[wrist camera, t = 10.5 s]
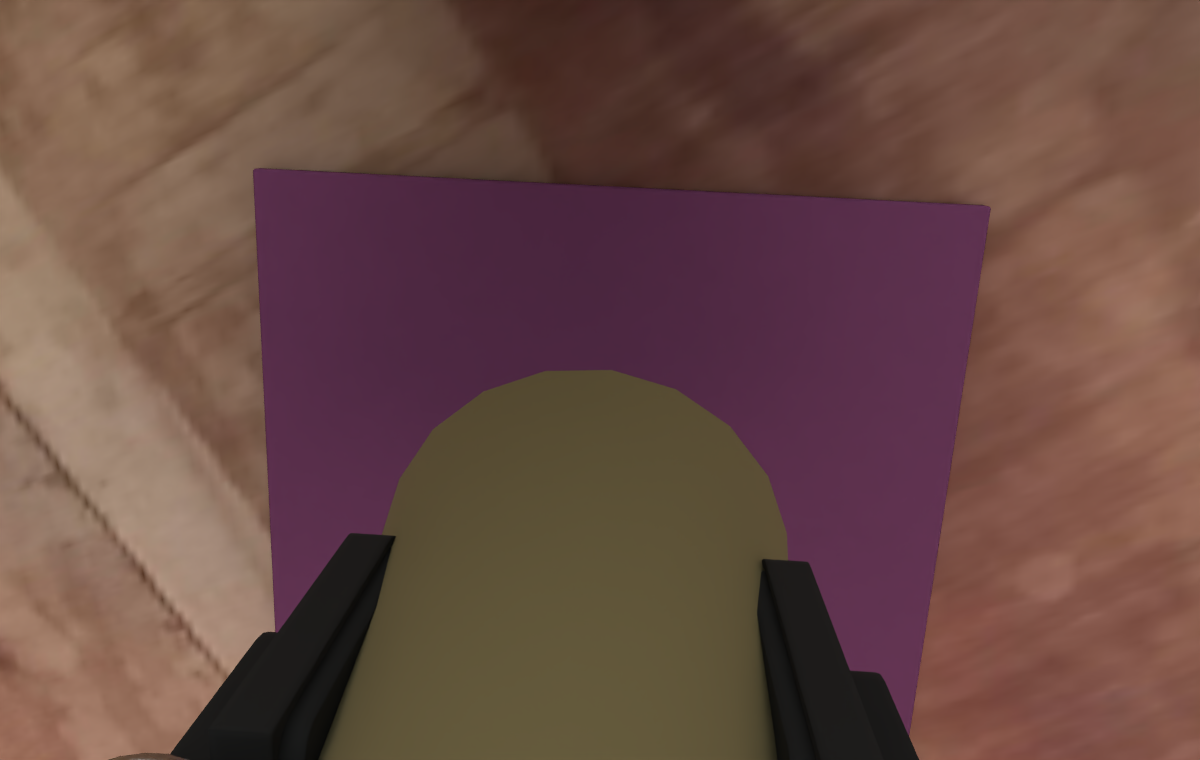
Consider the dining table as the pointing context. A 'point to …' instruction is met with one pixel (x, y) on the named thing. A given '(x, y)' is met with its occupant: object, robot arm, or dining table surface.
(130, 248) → the dining table surface
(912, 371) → the placemat
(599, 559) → the pepper mill
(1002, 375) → the dining table surface
